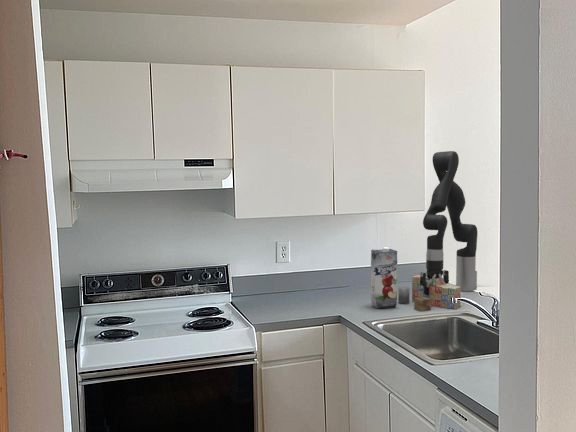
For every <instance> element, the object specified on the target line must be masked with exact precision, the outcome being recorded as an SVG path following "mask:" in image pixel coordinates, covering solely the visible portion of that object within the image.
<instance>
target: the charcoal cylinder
mask: <svg viewBox="0 0 576 432" xmlns="http://www.w3.org/2000/svg"><path fill="white" fill-rule="evenodd" d="M397 301H398V303H397V304H400V305H409V304H410V287H408V286H398V287H397Z"/></svg>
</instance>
